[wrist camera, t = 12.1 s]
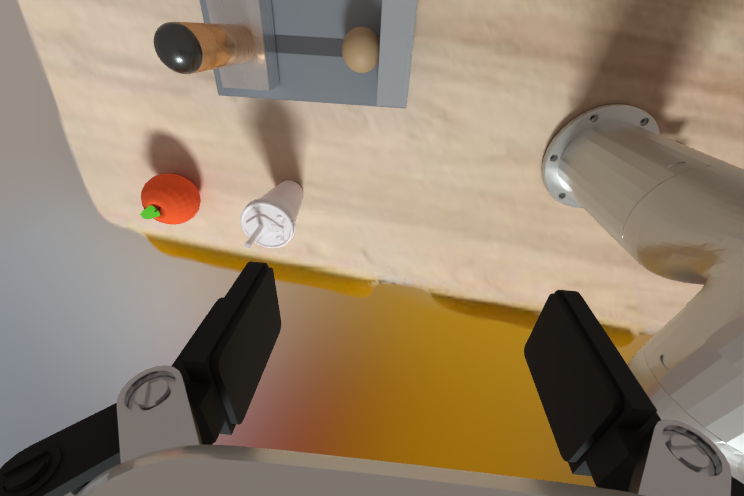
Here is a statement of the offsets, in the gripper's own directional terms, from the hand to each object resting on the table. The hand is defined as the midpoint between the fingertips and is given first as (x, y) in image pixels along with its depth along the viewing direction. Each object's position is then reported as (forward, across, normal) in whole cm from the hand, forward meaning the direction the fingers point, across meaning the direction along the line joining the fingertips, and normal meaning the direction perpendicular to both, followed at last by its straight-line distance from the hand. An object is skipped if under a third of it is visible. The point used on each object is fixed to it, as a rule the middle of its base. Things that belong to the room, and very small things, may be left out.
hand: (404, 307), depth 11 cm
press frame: (+33, +11, -6) cm, 36 cm away
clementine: (+34, +31, +13) cm, 47 cm away
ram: (+31, +17, -6) cm, 36 cm away
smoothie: (+34, +15, +12) cm, 39 cm away
